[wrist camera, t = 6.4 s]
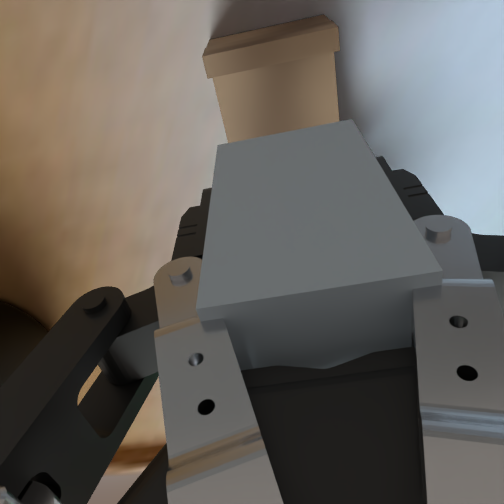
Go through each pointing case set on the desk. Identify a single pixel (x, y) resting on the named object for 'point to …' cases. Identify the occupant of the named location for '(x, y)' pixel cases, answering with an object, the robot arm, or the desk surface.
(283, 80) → the rail
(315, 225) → the finger block
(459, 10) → the desk surface
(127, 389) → the robot arm
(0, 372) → the ink bottle
